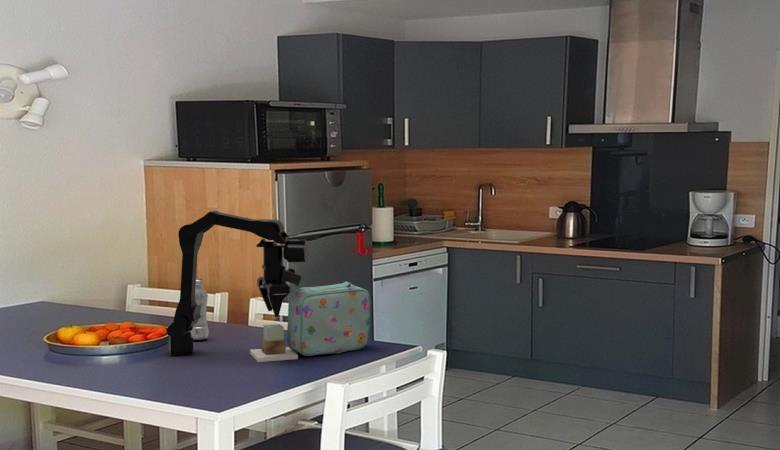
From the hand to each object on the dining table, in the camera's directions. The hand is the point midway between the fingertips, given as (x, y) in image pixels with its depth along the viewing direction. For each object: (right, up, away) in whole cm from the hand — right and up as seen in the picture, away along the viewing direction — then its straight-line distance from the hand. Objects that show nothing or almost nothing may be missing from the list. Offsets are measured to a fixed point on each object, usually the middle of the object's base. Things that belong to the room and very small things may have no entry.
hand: (273, 313), depth 277 cm
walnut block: (0, -12, +1) cm, 12 cm away
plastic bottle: (-28, -11, +24) cm, 38 cm away
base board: (0, -13, +1) cm, 13 cm away
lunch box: (+17, -13, +8) cm, 22 cm away
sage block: (0, -8, +1) cm, 8 cm away
